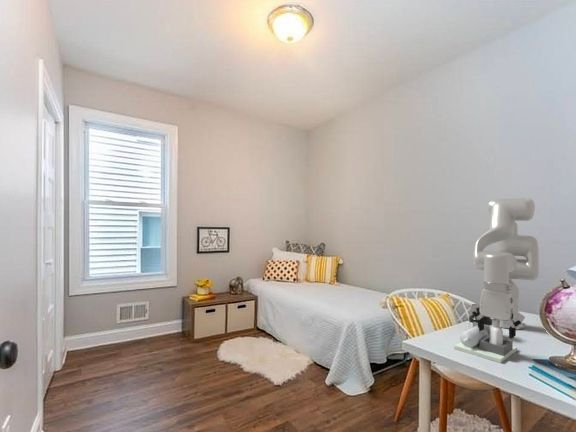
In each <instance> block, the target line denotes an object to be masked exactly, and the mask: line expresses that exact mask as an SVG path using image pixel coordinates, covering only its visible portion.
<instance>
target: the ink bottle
mask: <svg viewBox="0 0 576 432" xmlns="http://www.w3.org/2000/svg"><path fill="white" fill-rule="evenodd" d="M476 304H477V303H472V304H471V306H473V305H476ZM476 311H477V312H478V313H479V314H480V307H479V308H476ZM483 319H484V324H485V325H489V326H490V325H492V319H493V318H490V317H485V316H484V317H483ZM473 322H476V323H478V320H477V319H476V317H475V316H474V314H473V312H472V311H471V314H470V315H469V316H468V330H469V329H471V328H473Z"/></svg>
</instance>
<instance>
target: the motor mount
mask: <svg viewBox="0 0 576 432" xmlns="http://www.w3.org/2000/svg"><path fill="white" fill-rule="evenodd" d="M489 327H490V326H489V325H485V324H484V330H482V331H479V328H478V323H476V322H473V328H471V329H469V328H468V329H467V330H465V331H462V332H461V333H460V334H459V340H460V342H458V343H457V344H455V345H453V347H454V350H456V351H457V350H458V351H460V352H463V353H467V354H469V355H472V356H476V357H479V358H483V359H486V360H489V361H492V362H495V363H498V364H501V363H503V362H504V361H505V360H506V359H508V358H509V357H510V356H511V355H513V354H514V353H515V352H517V351H518V347H517V346H514V345H513V340H509V339H505V338H503V346H499V345H496V344H492V343H489Z"/></svg>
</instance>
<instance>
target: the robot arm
mask: <svg viewBox="0 0 576 432" xmlns="http://www.w3.org/2000/svg"><path fill="white" fill-rule="evenodd" d="M487 210H488V213H489V215H490V218H489V227H488V230H487V231H486V232H484V233H483V234H481V236H479V237H478V238H477V240H476V241H475V244H474V247H473V248H474V249H473V255H472V263H473V266H474V267H475V269H476V270H477V269H478V270H480V271H483V272H484V273H483V274H484V275H483V282H484V283H483V288H482V289H481V294H480V297H479V298H480V300H479V303H475V304H476V305H473V306H472V305H470V306H469V308H470V311H471V313H472V312H473V314H474V316H475V317H476V319H477V320H478V328H479V331H482V330H484V319H483V317H484V316H485V317H490V318H491V319H498V320H500V327H501V329H508V338H509V339H511V340H512V339H514V338H515V337H516V335H517V333H516V332H517V330H521V329H523V328H524V324H523V321H524V320H525V318H526V316H525V315H524V314H522V313H520V289H519V286H518V285H517V284H516V283H515V282H514V280H521V281H536V280H537V279H538V278H539V273H540V272H539V271H540V270H539V266H540V264H539V263H540V261H539V257H540V255H539V242H538V240H537V239H536V237H535V236H532V235H519V233H518V224H517V222H519V221H520V222H521V221H522V222H528V221H531V220H532V219H533V218H534V214H535V211H536V205H535V201H534V200H533V199H532V198H529V197H528V198H527V197H526V198H525V197H523V198H522V197H521V198H520V197H519V198H517V197H516V198H496V199H491V200H490V201H488V203H487ZM492 244H495V250H496V251H487V250H484V249H485V248H486V247H488V246H490V245H492ZM516 256H517V257H524V258H517V257H516ZM479 307H480V314H479V313H478V312H477V311H476V308H479Z"/></svg>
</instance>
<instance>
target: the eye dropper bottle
mask: <svg viewBox="0 0 576 432" xmlns="http://www.w3.org/2000/svg"><path fill="white" fill-rule="evenodd" d="M491 319H492V325H490V327H489V343H492V344H496V345H499V346H503V339H504V337H503V333H504V332H503V328H502V327H500V320H498V319H494V318H491Z"/></svg>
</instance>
